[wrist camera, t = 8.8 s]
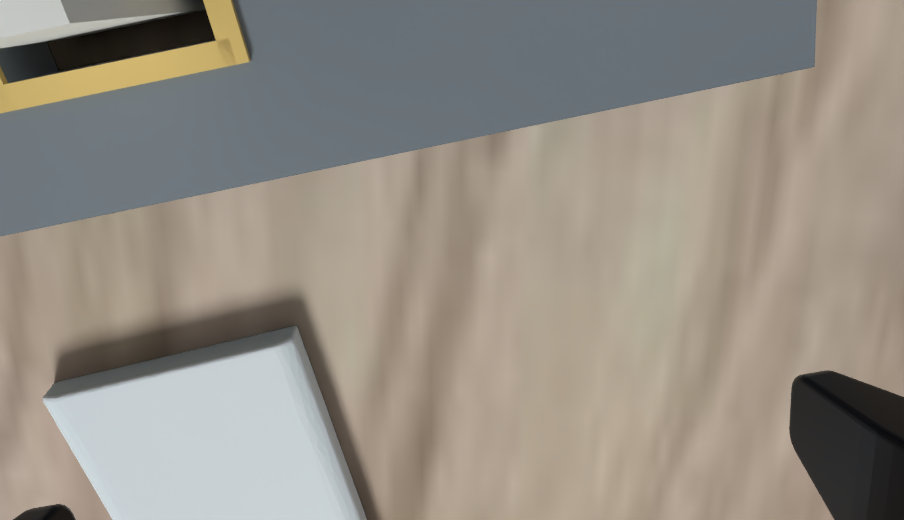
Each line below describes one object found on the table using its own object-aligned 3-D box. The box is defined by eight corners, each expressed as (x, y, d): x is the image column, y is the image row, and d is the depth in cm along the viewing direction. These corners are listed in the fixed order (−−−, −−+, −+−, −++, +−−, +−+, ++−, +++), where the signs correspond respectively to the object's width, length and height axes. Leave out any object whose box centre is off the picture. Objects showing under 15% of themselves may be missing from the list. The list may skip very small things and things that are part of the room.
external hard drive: (299, 317, 21) (392, 577, 26) (61, 373, 21) (198, 623, 26) (293, 341, 20) (392, 613, 25) (36, 402, 20) (186, 661, 25)
